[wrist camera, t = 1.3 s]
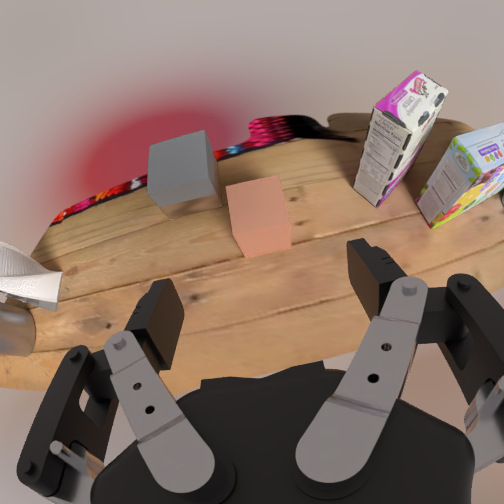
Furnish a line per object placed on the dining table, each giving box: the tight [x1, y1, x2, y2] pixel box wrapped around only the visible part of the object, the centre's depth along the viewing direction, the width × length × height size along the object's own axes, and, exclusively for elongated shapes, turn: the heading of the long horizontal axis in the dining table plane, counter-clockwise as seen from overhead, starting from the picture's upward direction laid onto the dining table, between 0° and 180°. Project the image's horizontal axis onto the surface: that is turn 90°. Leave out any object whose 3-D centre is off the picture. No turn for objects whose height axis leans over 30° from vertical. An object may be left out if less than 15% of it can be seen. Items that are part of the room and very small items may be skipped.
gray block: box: [147, 130, 217, 207], centre depth 36 cm, size 8×8×4 cm
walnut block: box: [160, 151, 223, 219], centre depth 40 cm, size 8×8×4 cm
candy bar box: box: [353, 70, 448, 208], centre depth 30 cm, size 11×5×16 cm, turn 134°
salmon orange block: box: [226, 175, 291, 258], centre depth 34 cm, size 6×6×8 cm
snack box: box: [414, 122, 504, 229], centre depth 28 cm, size 21×6×15 cm, turn 112°
